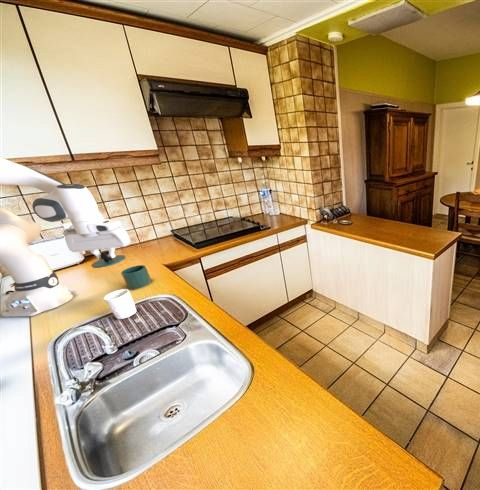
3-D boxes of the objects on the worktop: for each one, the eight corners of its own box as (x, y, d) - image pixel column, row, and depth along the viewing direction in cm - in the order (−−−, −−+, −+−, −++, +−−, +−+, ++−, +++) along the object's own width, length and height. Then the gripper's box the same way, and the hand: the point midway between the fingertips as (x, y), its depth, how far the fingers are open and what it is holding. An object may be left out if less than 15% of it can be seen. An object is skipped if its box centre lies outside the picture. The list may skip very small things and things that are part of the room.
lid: (85, 270, 103) (78, 258, 101) (105, 259, 113) (100, 248, 111) (114, 267, 105) (108, 255, 102) (132, 256, 114) (126, 245, 112)
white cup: (124, 321, 107) (113, 300, 103) (109, 319, 109) (98, 299, 105) (143, 309, 114) (133, 289, 110) (128, 307, 116) (119, 288, 112)
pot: (123, 290, 130) (116, 275, 127) (136, 280, 139) (129, 266, 135) (144, 288, 131) (137, 273, 128) (155, 278, 140) (149, 264, 136)
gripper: (53, 232, 98) (72, 264, 104) (113, 226, 100) (128, 258, 106) (68, 226, 104) (85, 258, 109) (124, 221, 106) (139, 252, 112)
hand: (107, 258), depth 108 cm, fingers closed on lid, 2 cm apart
